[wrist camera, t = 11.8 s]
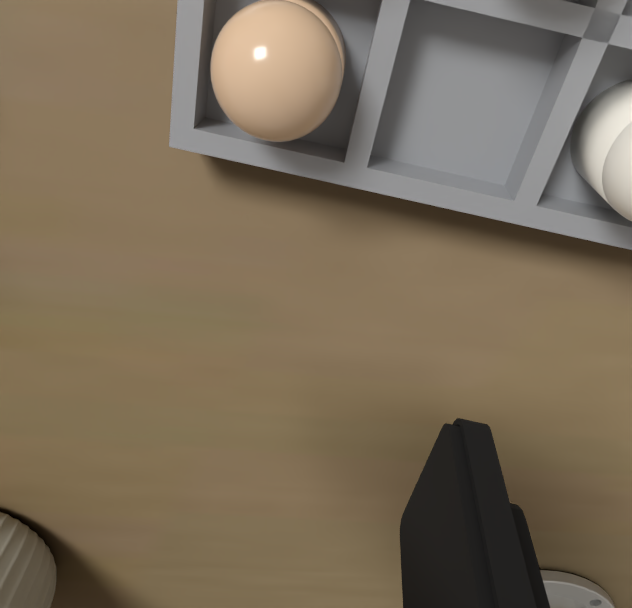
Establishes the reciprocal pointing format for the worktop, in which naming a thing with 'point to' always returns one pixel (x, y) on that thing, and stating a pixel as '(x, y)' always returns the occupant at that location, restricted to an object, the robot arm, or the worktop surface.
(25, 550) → the canister
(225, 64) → the brown egg
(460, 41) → the egg carton
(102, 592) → the worktop surface
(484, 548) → the robot arm
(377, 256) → the worktop surface
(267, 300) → the worktop surface
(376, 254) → the worktop surface
